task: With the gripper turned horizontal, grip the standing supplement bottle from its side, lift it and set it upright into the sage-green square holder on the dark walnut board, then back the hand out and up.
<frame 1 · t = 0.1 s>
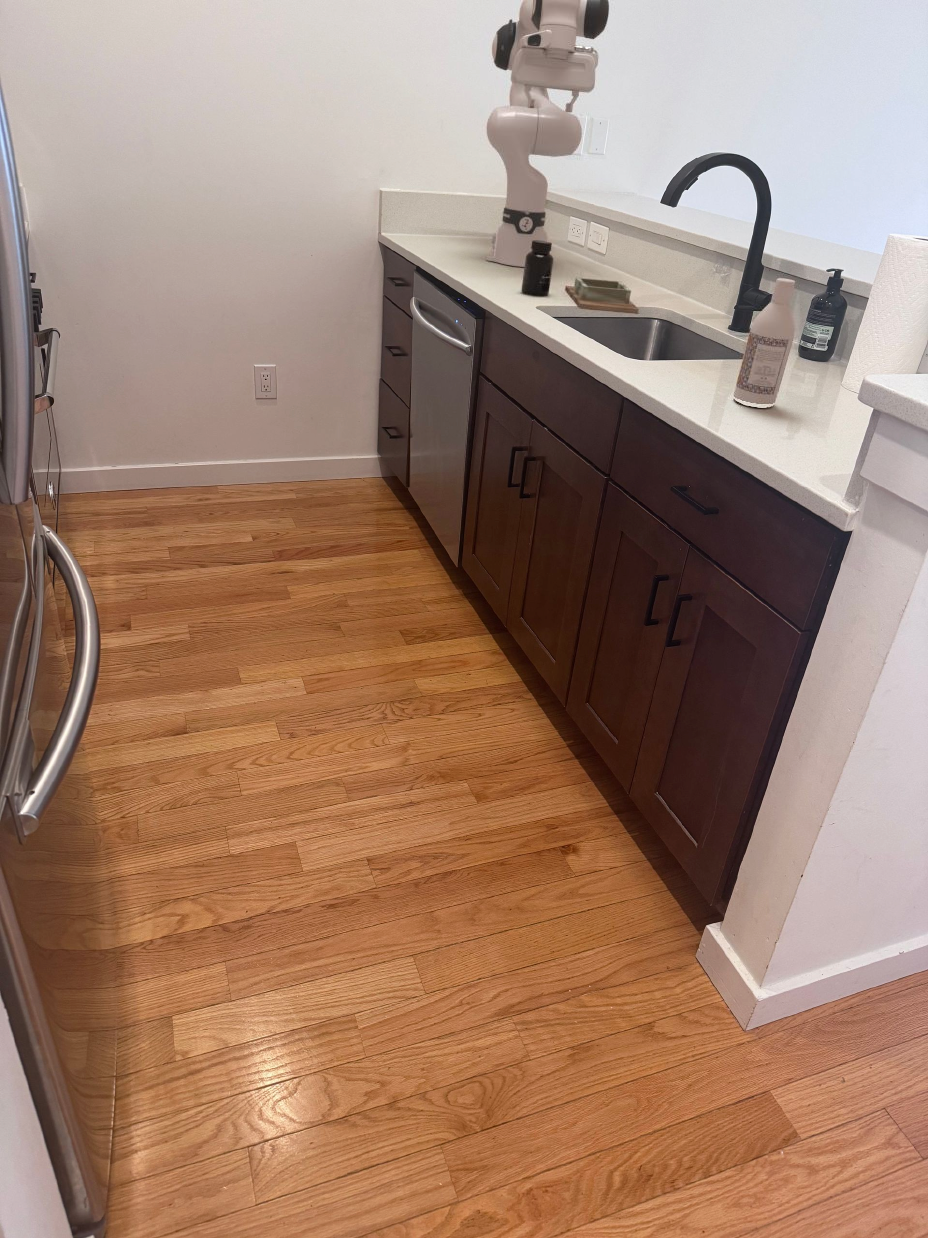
hand: (549, 109, 214), 39 cm above the worktop, tool pointing down, fingers open, 8 cm apart
supplement bottle: (534, 294, 216), on the worktop
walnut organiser: (600, 300, 216), on the worktop
bath foam: (752, 404, 150), on the worktop
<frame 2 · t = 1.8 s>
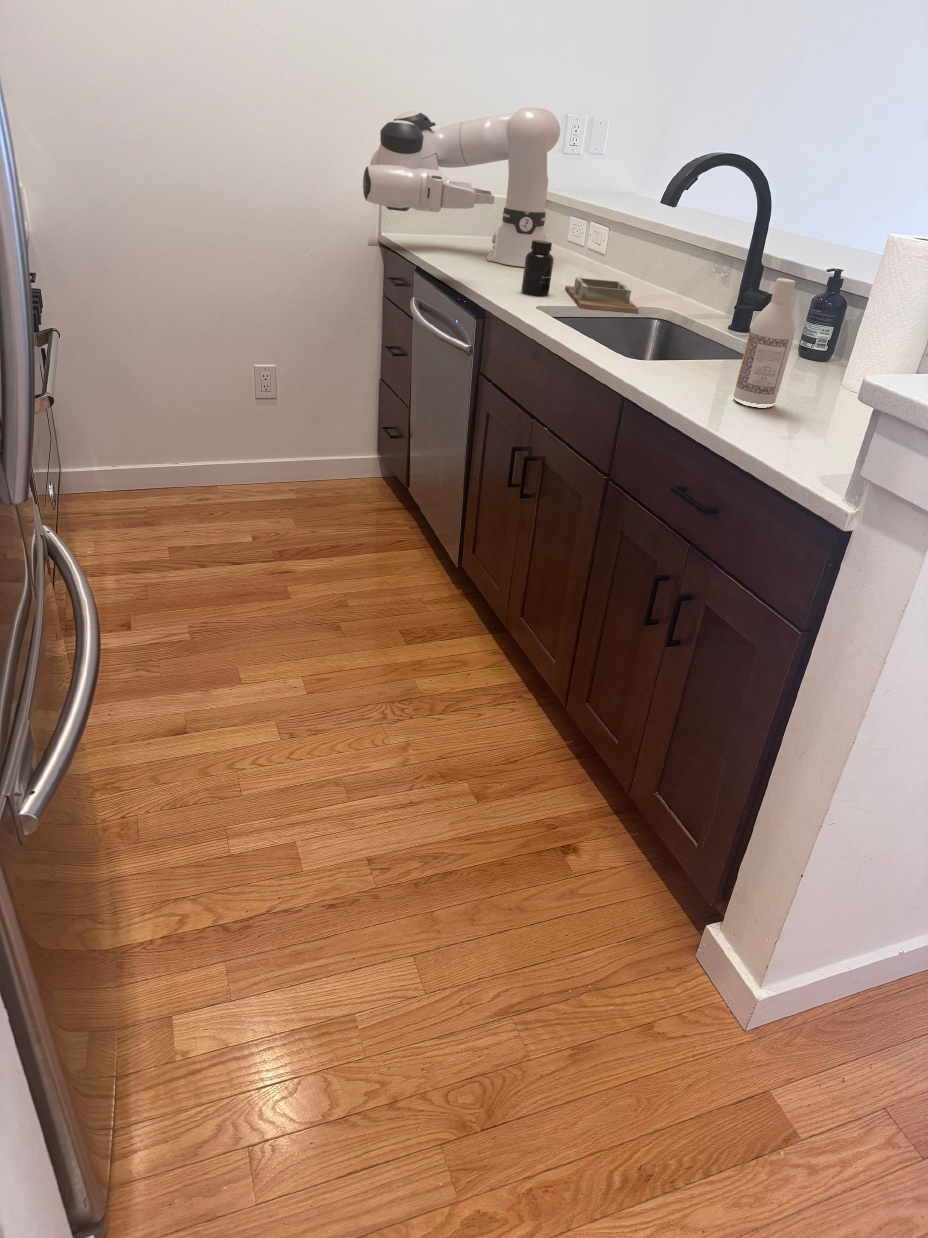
hand: (492, 197, 204), 20 cm above the worktop, tool horizontal, fingers open, 8 cm apart
nothing on the worktop moved.
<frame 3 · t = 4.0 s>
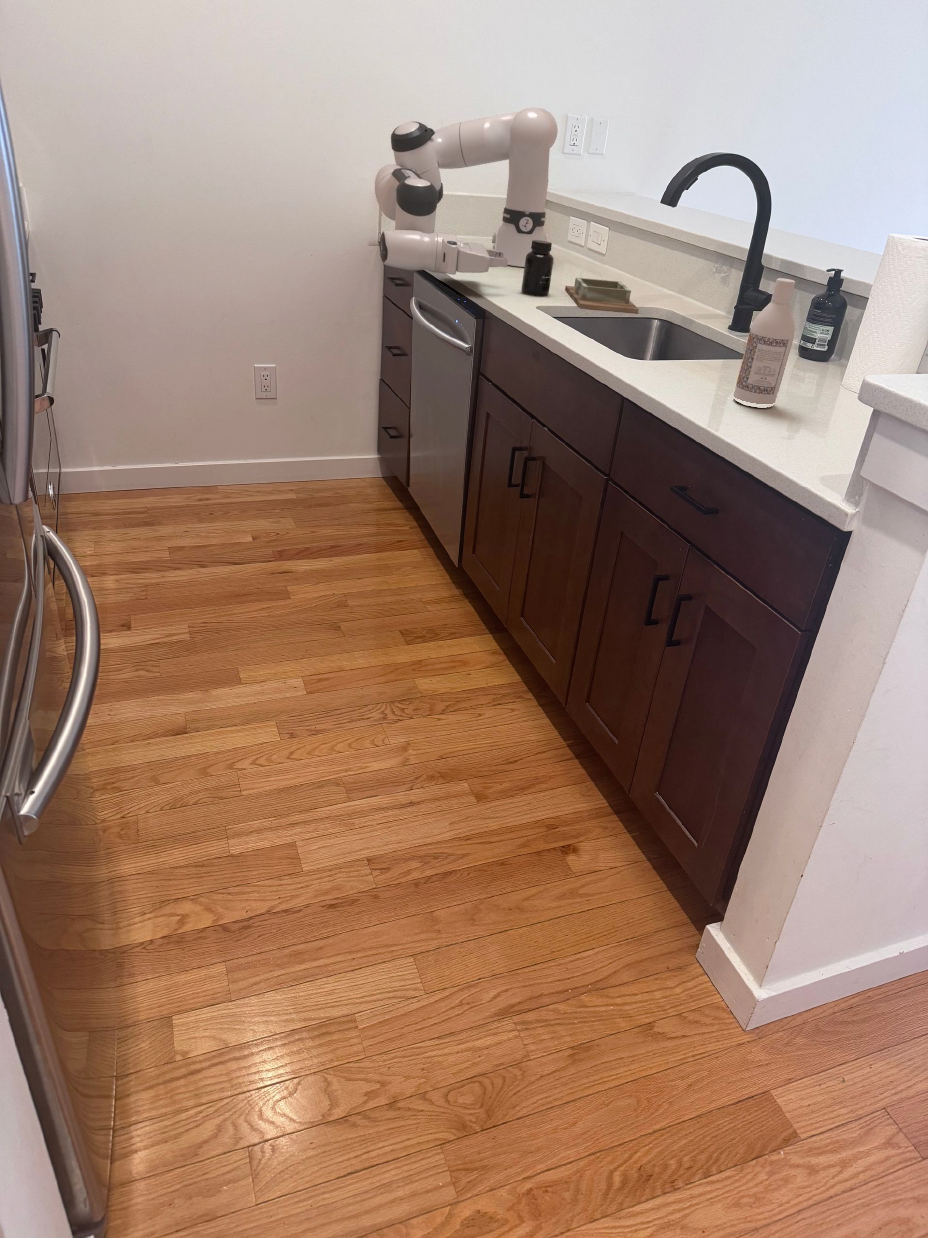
hand: (505, 259, 211), 7 cm above the worktop, tool horizontal, fingers open, 8 cm apart
nothing on the worktop moved.
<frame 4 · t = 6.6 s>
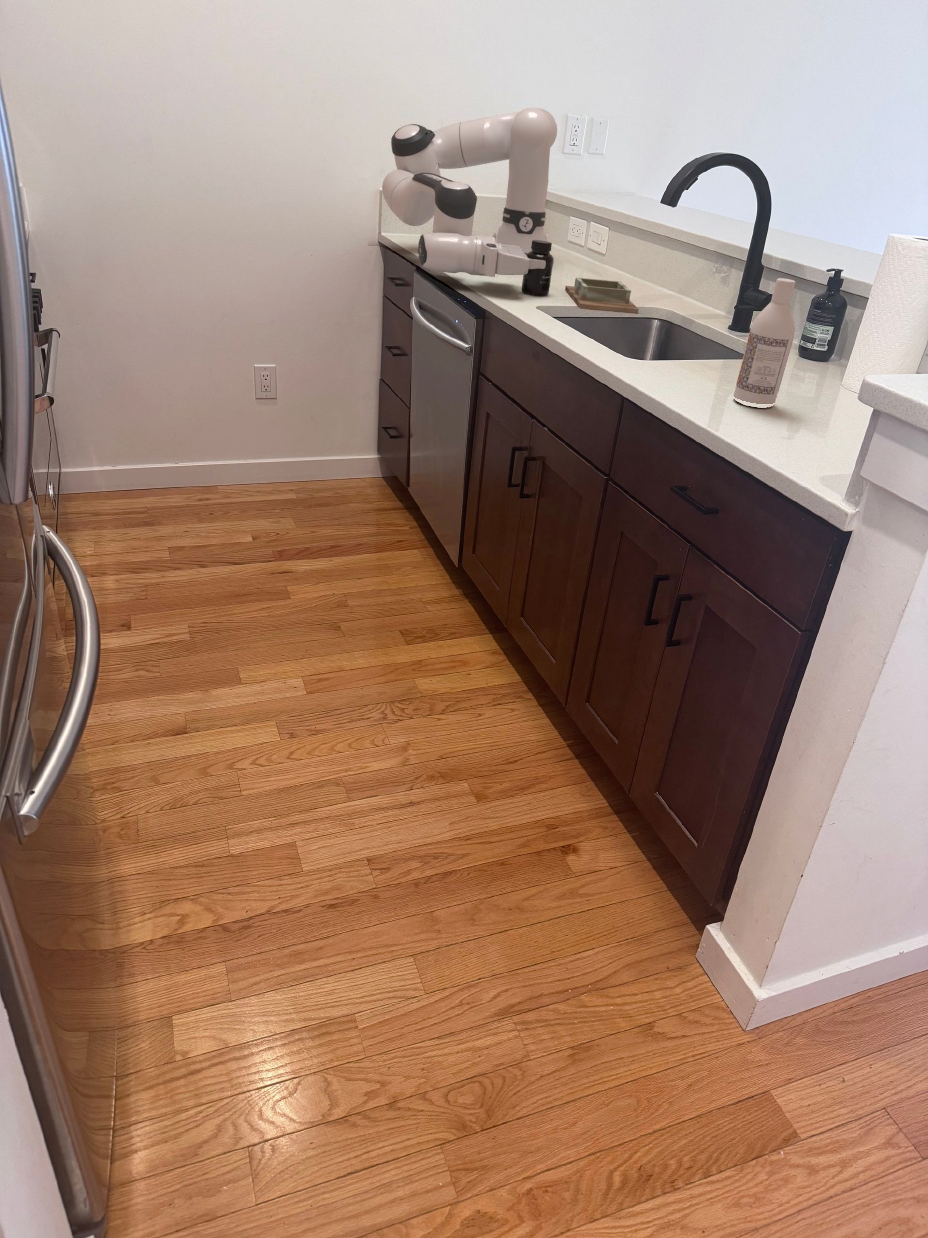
hand: (542, 261, 212), 8 cm above the worktop, tool horizontal, fingers closed on supplement bottle, 7 cm apart
supplement bottle: (534, 294, 216), on the worktop, touching gripper
everything else where it was.
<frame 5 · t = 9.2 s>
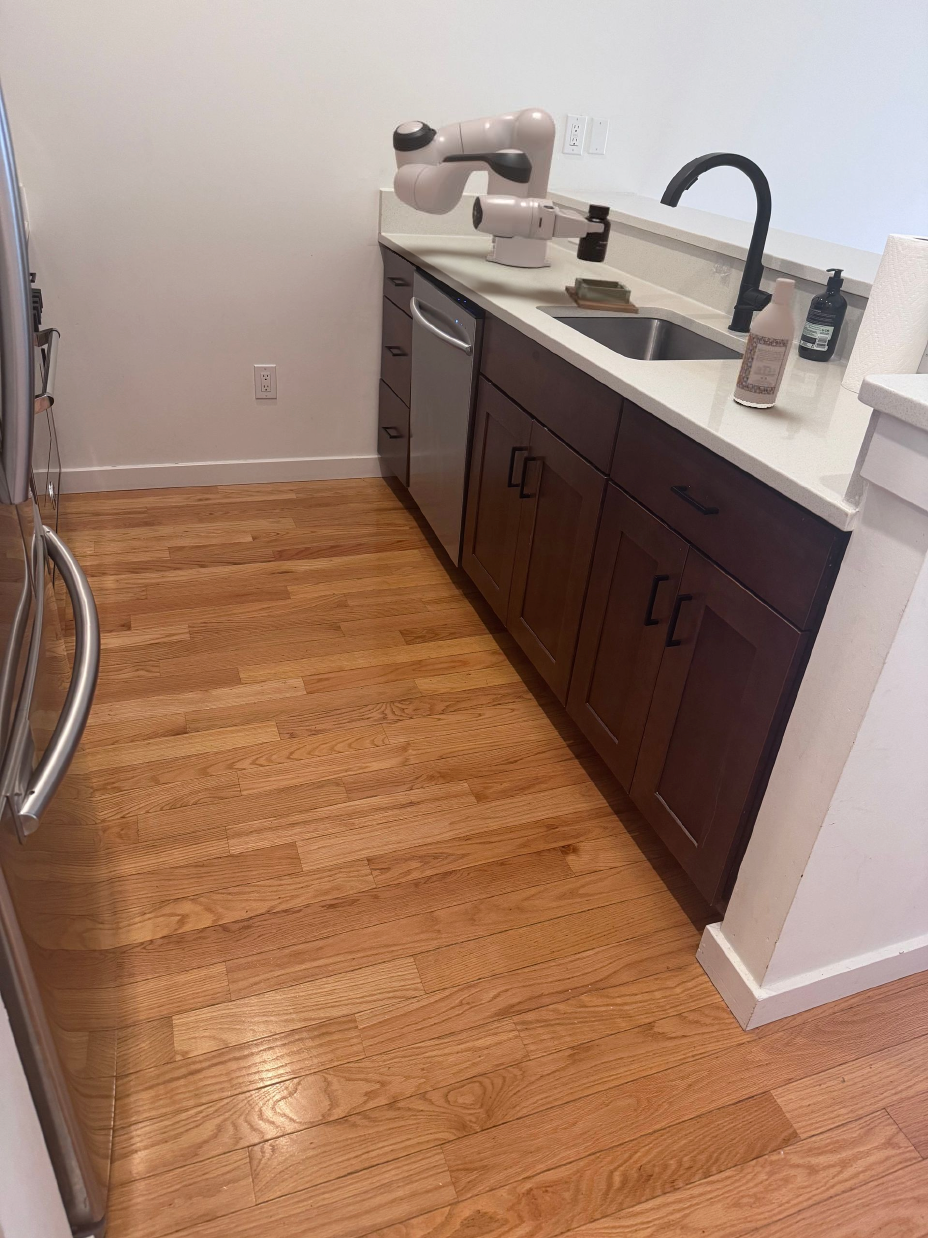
hand: (600, 225, 206), 17 cm above the worktop, tool horizontal, fingers closed on supplement bottle, 7 cm apart
supplement bottle: (590, 260, 210), point 9 cm above the worktop, touching gripper
everything else where it was.
when the fingers open (10 cm above the worktop, at t = 12.2 s): supplement bottle drops 1 cm, resting on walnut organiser.
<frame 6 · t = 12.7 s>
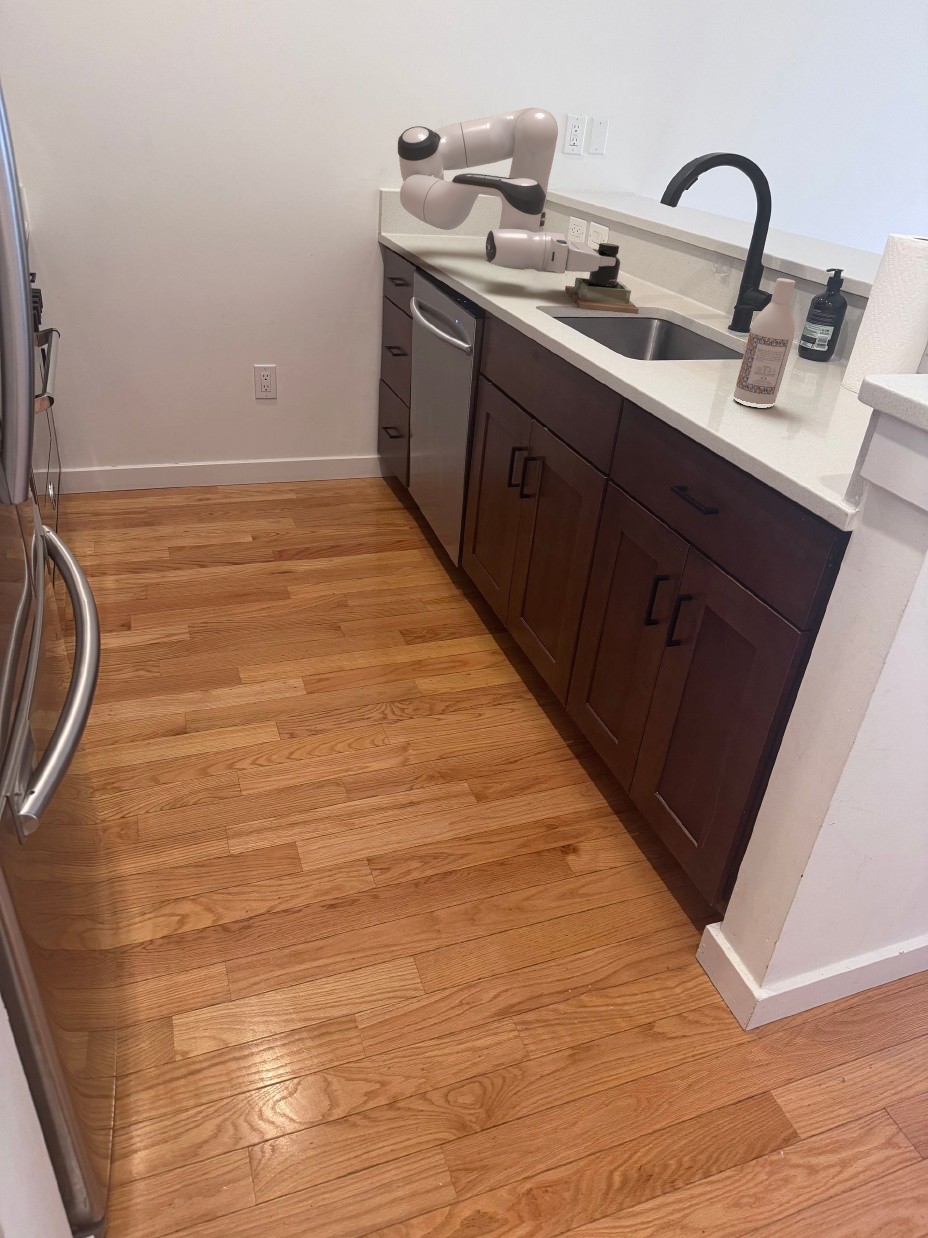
hand: (610, 258, 211), 10 cm above the worktop, tool horizontal, fingers open, 8 cm apart
supplement bottle: (599, 297, 215), point 1 cm above the worktop, touching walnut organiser
everything else where it was.
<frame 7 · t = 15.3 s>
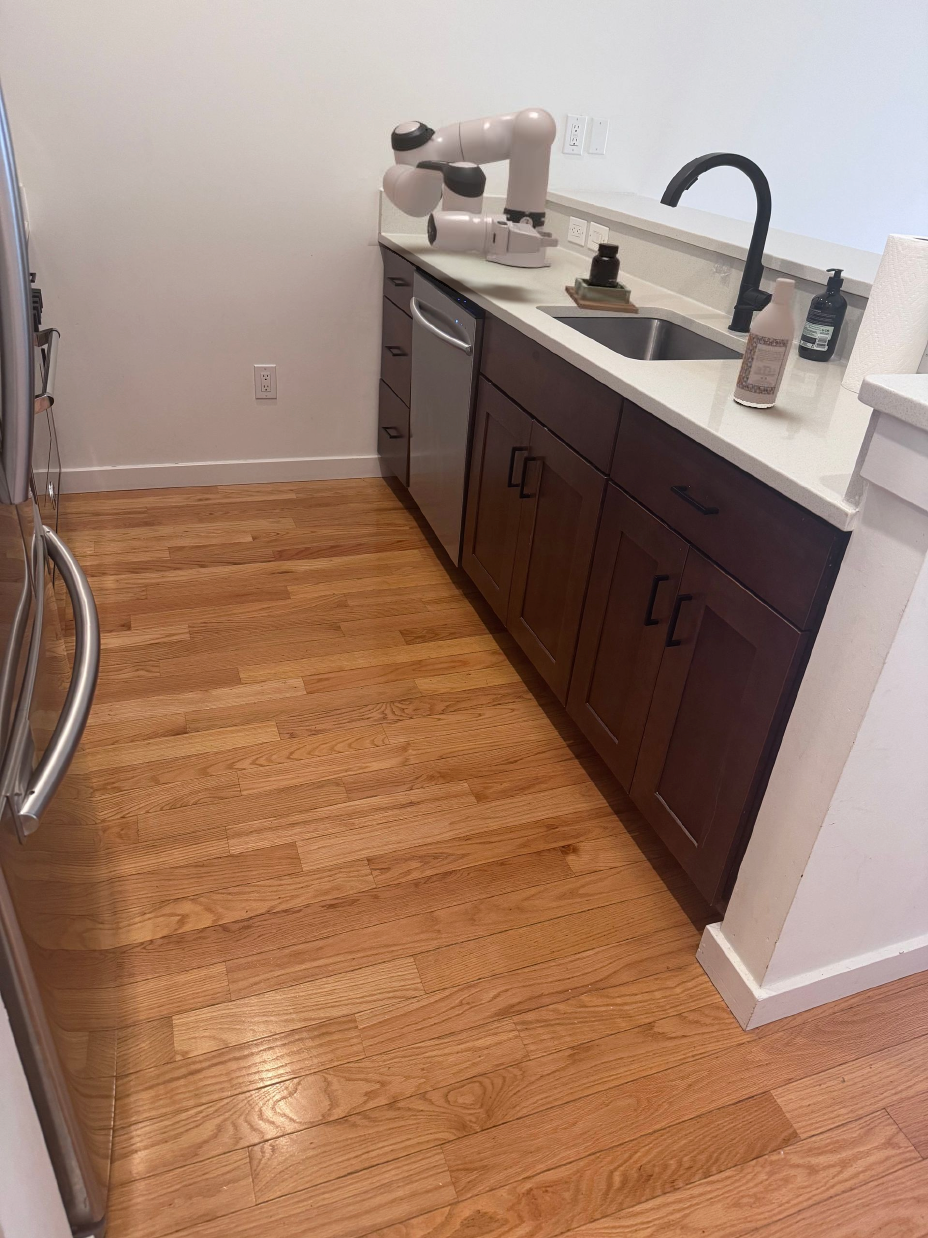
hand: (554, 239, 208), 13 cm above the worktop, tool horizontal, fingers open, 8 cm apart
nothing on the worktop moved.
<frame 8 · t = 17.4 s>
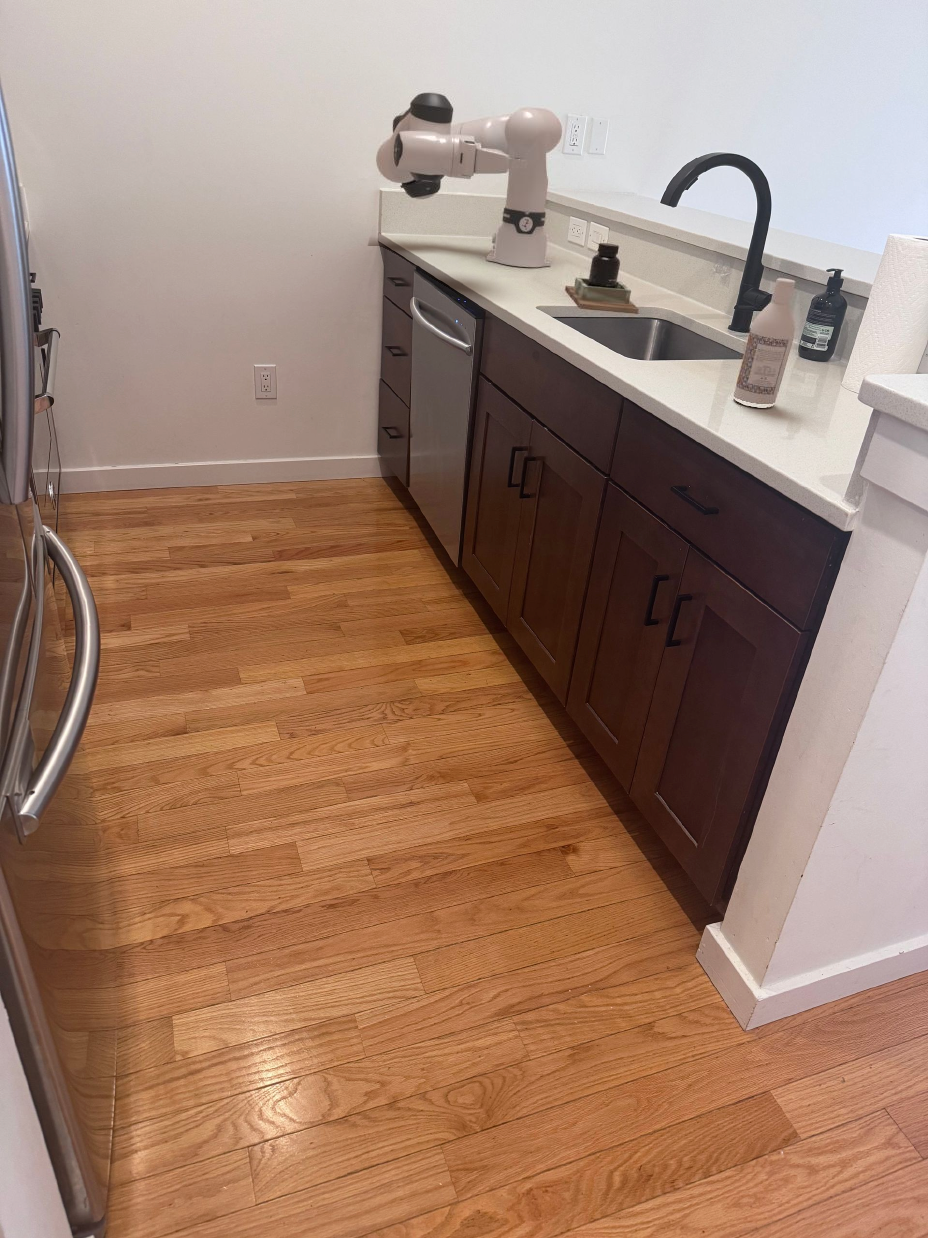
hand: (524, 163, 203), 28 cm above the worktop, tool horizontal, fingers open, 8 cm apart
nothing on the worktop moved.
at the end: supplement bottle 0.2 cm off-centre on the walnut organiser, point 0.8 cm above the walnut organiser's base; supplement bottle tilted 0°; the gripper is holding nothing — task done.
